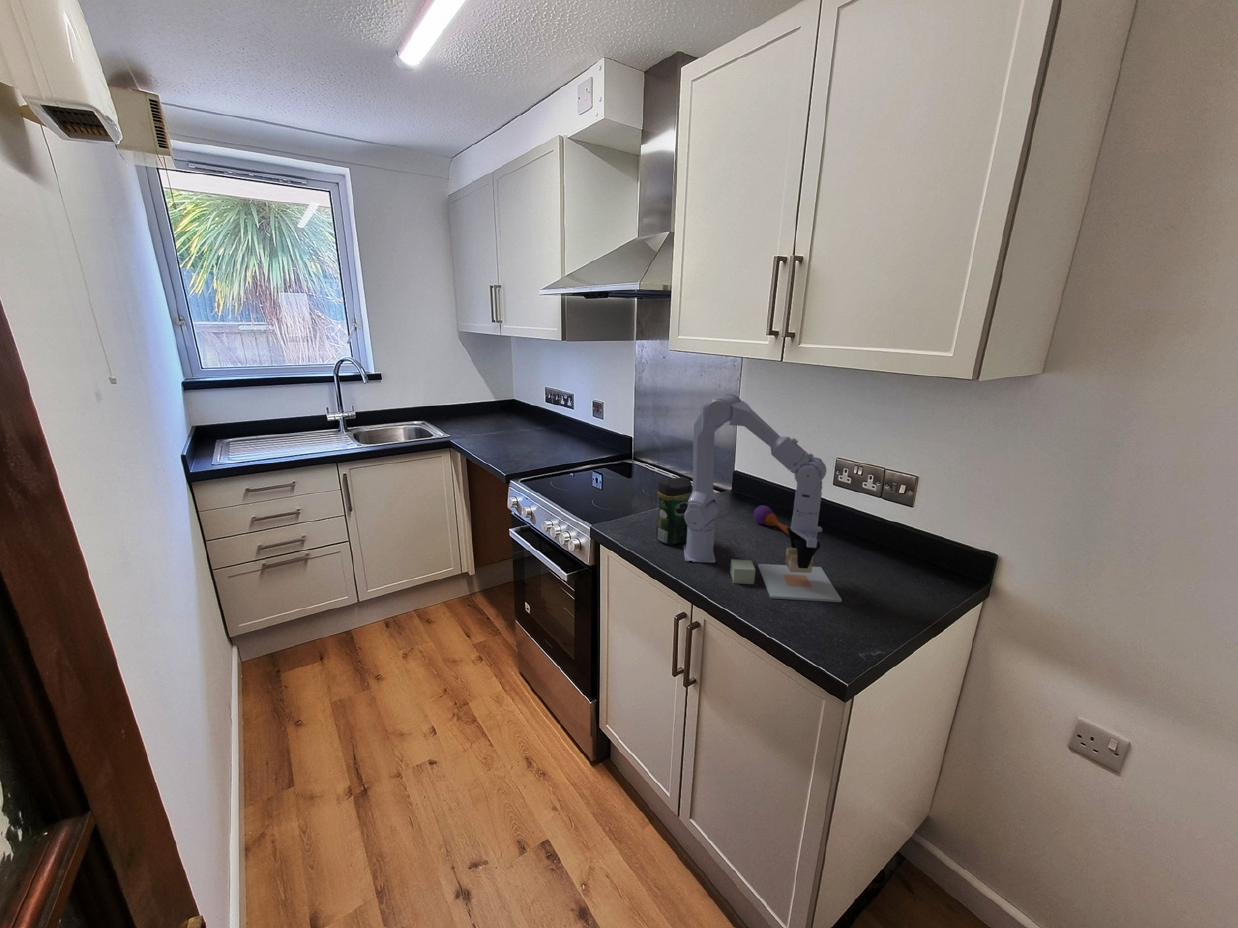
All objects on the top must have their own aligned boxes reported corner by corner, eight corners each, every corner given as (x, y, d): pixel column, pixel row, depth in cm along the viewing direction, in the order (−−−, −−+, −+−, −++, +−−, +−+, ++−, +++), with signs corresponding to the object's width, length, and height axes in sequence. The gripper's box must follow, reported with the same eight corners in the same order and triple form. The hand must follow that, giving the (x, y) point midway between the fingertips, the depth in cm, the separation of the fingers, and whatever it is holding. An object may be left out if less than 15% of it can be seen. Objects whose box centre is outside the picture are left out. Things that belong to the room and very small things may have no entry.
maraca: (795, 534, 143) (749, 505, 160) (794, 551, 146) (749, 521, 163) (811, 527, 146) (764, 500, 162) (810, 544, 148) (764, 516, 165)
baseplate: (757, 565, 133) (758, 563, 133) (820, 569, 132) (820, 567, 131) (770, 598, 117) (770, 595, 117) (841, 602, 116) (841, 599, 116)
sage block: (730, 573, 129) (731, 559, 128) (749, 574, 128) (751, 560, 127) (733, 583, 124) (734, 568, 123) (753, 584, 124) (755, 569, 123)
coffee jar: (677, 531, 153) (680, 472, 148) (694, 541, 147) (698, 480, 142) (651, 537, 149) (653, 477, 143) (666, 548, 142) (669, 485, 137)
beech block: (785, 562, 126) (786, 547, 125) (805, 563, 126) (807, 548, 124) (790, 571, 121) (791, 556, 120) (811, 572, 121) (813, 557, 120)
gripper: (833, 522, 112) (826, 577, 116) (814, 499, 126) (808, 549, 130) (801, 520, 112) (794, 576, 116) (785, 498, 126) (780, 548, 130)
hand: (799, 562), depth 123 cm, fingers closed on beech block, 5 cm apart
